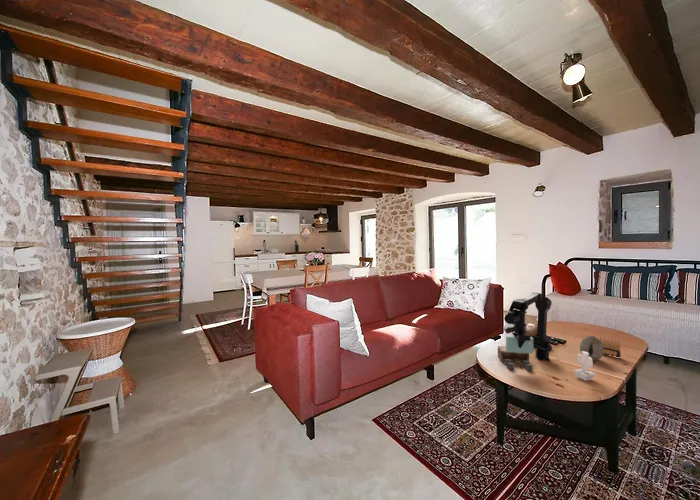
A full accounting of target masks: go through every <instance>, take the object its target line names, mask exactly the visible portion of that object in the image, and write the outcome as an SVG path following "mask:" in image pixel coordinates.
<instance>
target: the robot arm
mask: <svg viewBox="0 0 700 500" xmlns="http://www.w3.org/2000/svg"><path fill="white" fill-rule="evenodd" d="M534 303H535V308H536V310H537V323H536V324H537V334H536V335H535V336H533V349H535V351H534V353H535V354H534V355H535V358H537V360H539V361H547V362H548V361H549V362H551V359H550V353H551V352H552V350H553V346H552V345H551V344H550V339H549V338H548V337H549V336H548V335H547V325H548V324H547V322H548V312H549V311H550V310H551V307H552V300H551V299H550V298H549V297H547V296H545V295H543V294H542V293H541V292H534V291H533V292H532V293H530V294H529V295H527V296H525V297H523V298H517V299H514V300H513V301H512V303H511V304H510V307H509V309H508V312H507V314H505V316H504V321H505V323H506V324H507V325H504V326H503V327H502V328H503V331H504V333H506V334H511V335H512V336H515V337H516V338H517V339H518V345H519V348H521V347H522V345H523V344H524V342H525V341H530V340H531V337H530V336H529V335H528V334H524V333H526V331H525V326H526V314H527V313H528V312H527V310H528V309H529V306H530V305H532V304H534Z"/></svg>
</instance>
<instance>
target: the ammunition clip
mask: <svg viewBox="0 0 700 500" xmlns="http://www.w3.org/2000/svg"><path fill="white" fill-rule="evenodd" d="M599 340H600V341H601V343H602V344H603V348H604V353H603V354H605V355H611V356H616V357H621V340H620V339H618V340H617V339H616V338H615V339H614V341H613V338H610V339H609V337H607V338H606V336H603V337H602V336H600V337H599ZM605 355H604V356H605Z"/></svg>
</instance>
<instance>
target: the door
mask: <svg viewBox="0 0 700 500" xmlns="http://www.w3.org/2000/svg"><path fill="white" fill-rule="evenodd" d="M505 347H506V351H507V352H518V353H529V354H534V345H533V338H532V337H531V340H530V341H525V342H524V344H523V345H522V347H521V348H519V345H518V339H517V338H516V337H515V336H514V335H506V336H505Z"/></svg>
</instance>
